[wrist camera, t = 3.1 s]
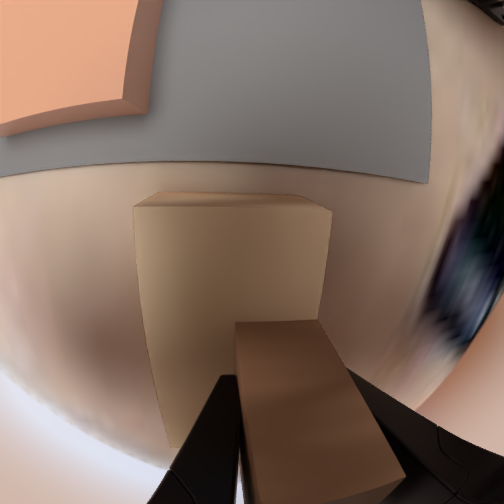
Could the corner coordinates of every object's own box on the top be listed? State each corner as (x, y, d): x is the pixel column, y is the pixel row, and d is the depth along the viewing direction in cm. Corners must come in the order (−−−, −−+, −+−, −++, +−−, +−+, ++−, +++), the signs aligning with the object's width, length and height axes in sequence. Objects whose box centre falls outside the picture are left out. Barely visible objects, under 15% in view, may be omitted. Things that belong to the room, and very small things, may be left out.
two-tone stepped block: (298, 195, 9) (506, 315, 2) (275, 395, 12) (317, 550, 5) (159, 191, 9) (-26, 324, 1) (176, 396, 12) (165, 558, 4)
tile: (170, -32, 6) (161, -71, 3) (147, 113, 8) (121, 98, 5) (33, 4, 5) (3, -17, 3) (6, 136, 7) (-38, 137, 4)
